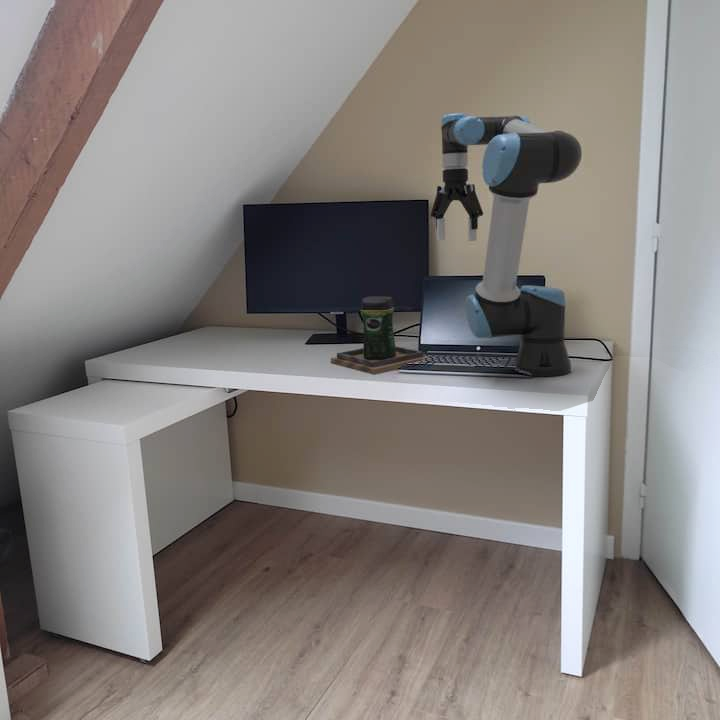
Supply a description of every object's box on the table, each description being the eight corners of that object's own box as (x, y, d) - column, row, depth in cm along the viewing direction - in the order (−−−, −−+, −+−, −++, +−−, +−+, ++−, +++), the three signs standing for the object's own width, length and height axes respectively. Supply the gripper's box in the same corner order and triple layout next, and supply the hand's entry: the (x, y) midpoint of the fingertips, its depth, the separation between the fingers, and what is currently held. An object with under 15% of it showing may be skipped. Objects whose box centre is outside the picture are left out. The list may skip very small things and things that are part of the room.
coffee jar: (399, 355, 222) (397, 294, 218) (389, 361, 215) (387, 298, 211) (370, 354, 226) (367, 294, 222) (359, 359, 219) (356, 298, 215)
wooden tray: (430, 361, 218) (430, 352, 218) (374, 374, 206) (374, 364, 206) (384, 351, 236) (384, 342, 235) (330, 362, 224) (330, 353, 223)
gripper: (494, 165, 210) (495, 240, 215) (436, 170, 230) (437, 238, 235) (476, 166, 206) (477, 242, 211) (418, 171, 226) (420, 240, 231)
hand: (456, 240), depth 223 cm, fingers open, 13 cm apart
